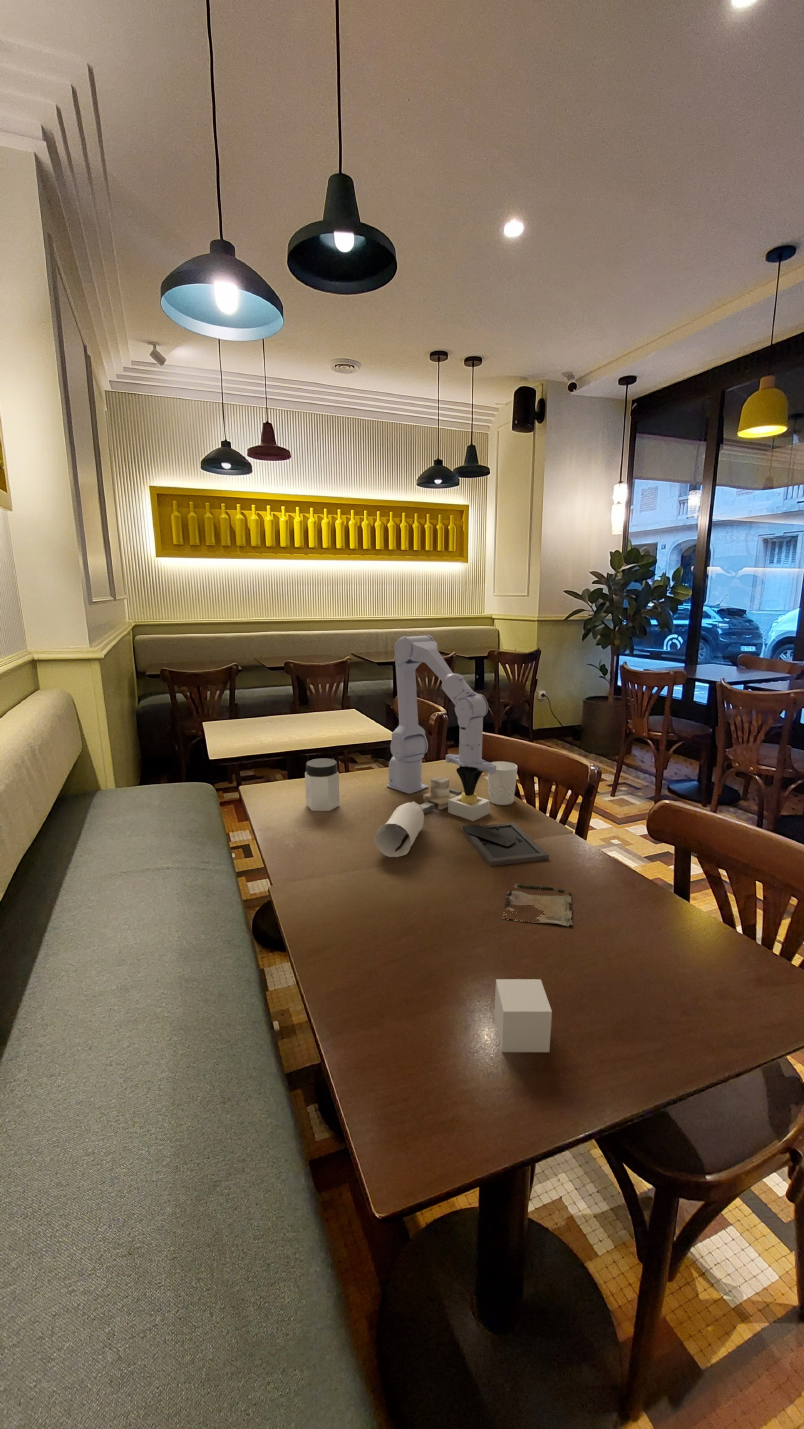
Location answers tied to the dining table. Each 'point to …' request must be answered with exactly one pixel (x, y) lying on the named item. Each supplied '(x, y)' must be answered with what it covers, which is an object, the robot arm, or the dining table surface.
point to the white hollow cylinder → (400, 830)
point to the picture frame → (504, 843)
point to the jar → (322, 784)
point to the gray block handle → (432, 805)
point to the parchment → (543, 905)
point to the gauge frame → (469, 808)
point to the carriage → (439, 792)
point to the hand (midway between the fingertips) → (469, 794)
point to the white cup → (502, 783)
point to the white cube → (522, 1015)
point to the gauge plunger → (469, 798)
